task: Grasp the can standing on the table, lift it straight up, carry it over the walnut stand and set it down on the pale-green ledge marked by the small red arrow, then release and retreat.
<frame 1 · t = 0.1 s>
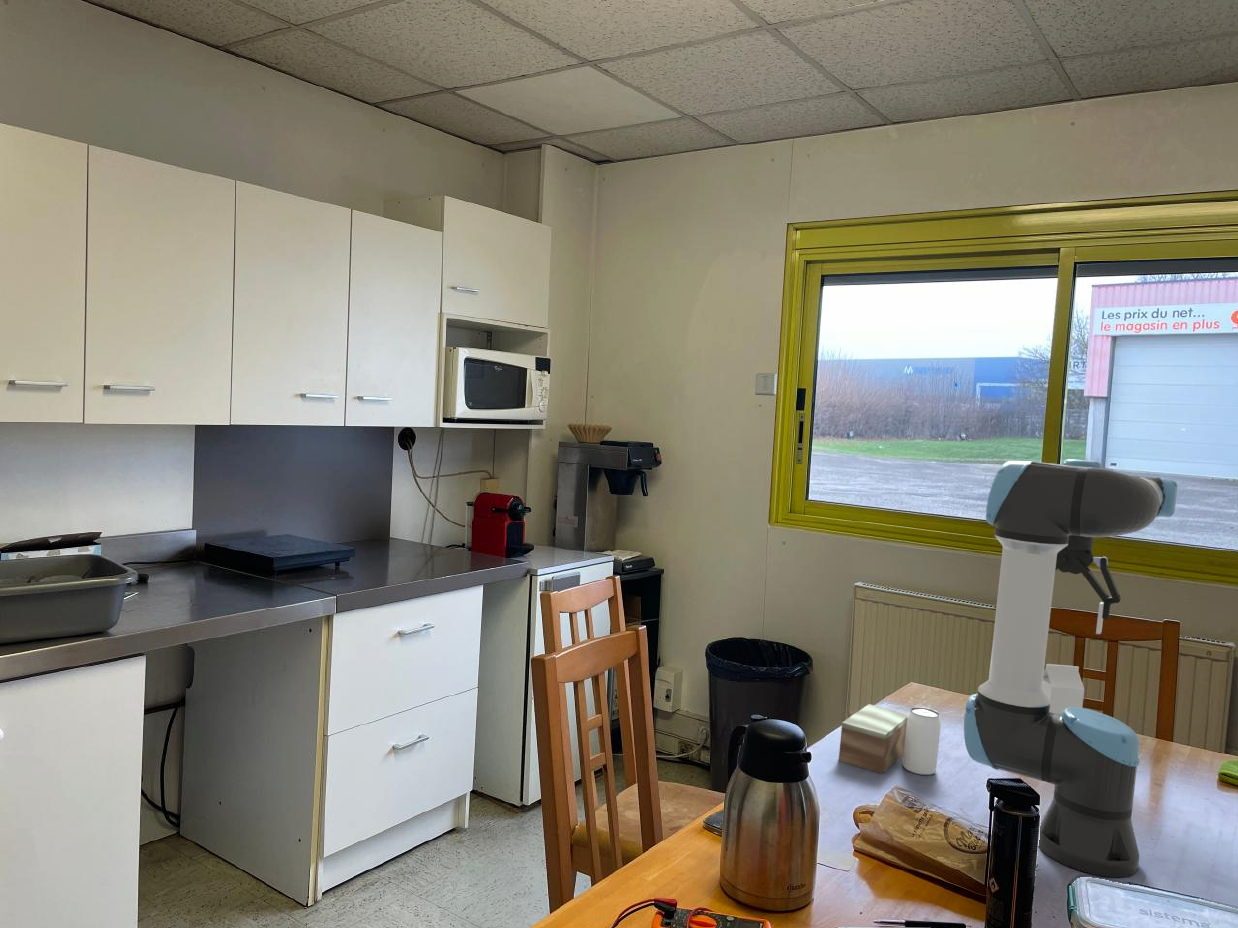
hand: (1063, 626, 197), 28 cm above the table, fingers open, 13 cm apart
can: (918, 770, 182), on the table
stand: (873, 755, 188), on the table
milk carton: (1053, 749, 200), on the table
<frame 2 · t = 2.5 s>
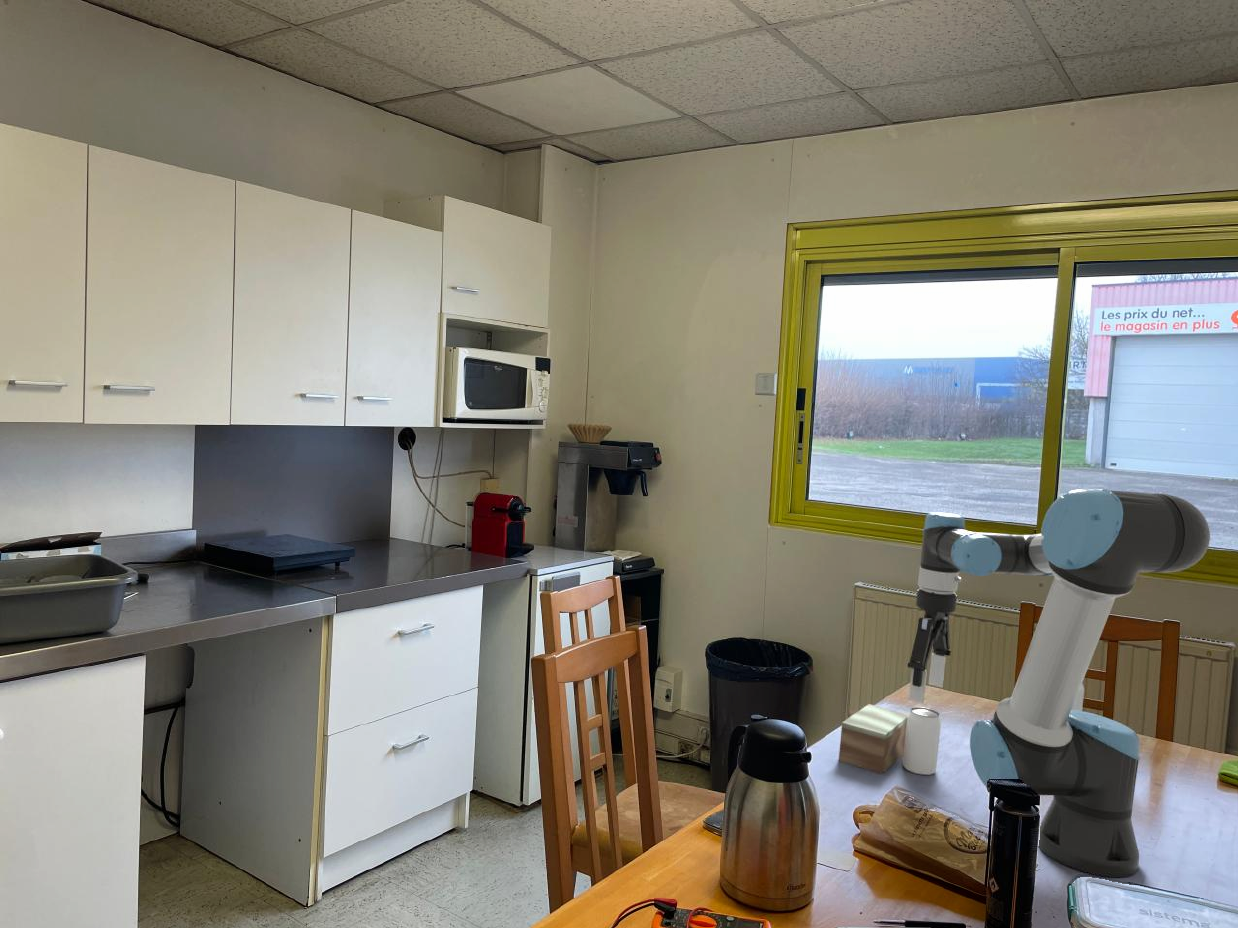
hand: (926, 693, 182), 16 cm above the table, fingers open, 13 cm apart
nothing on the table moved.
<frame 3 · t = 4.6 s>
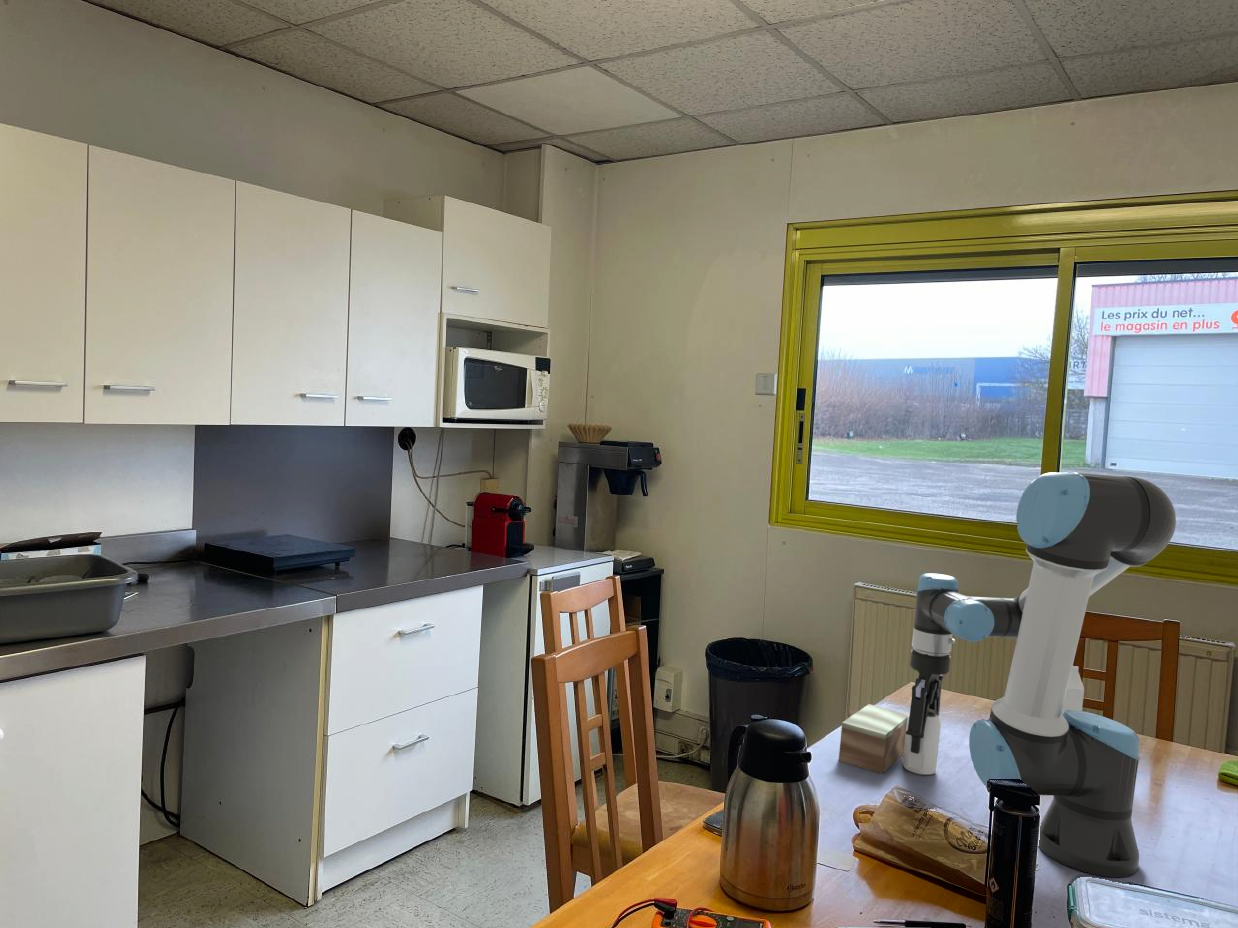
hand: (919, 762, 182), 1 cm above the table, fingers closed on can, 6 cm apart
can: (918, 770, 182), on the table, touching gripper
everything else where it was.
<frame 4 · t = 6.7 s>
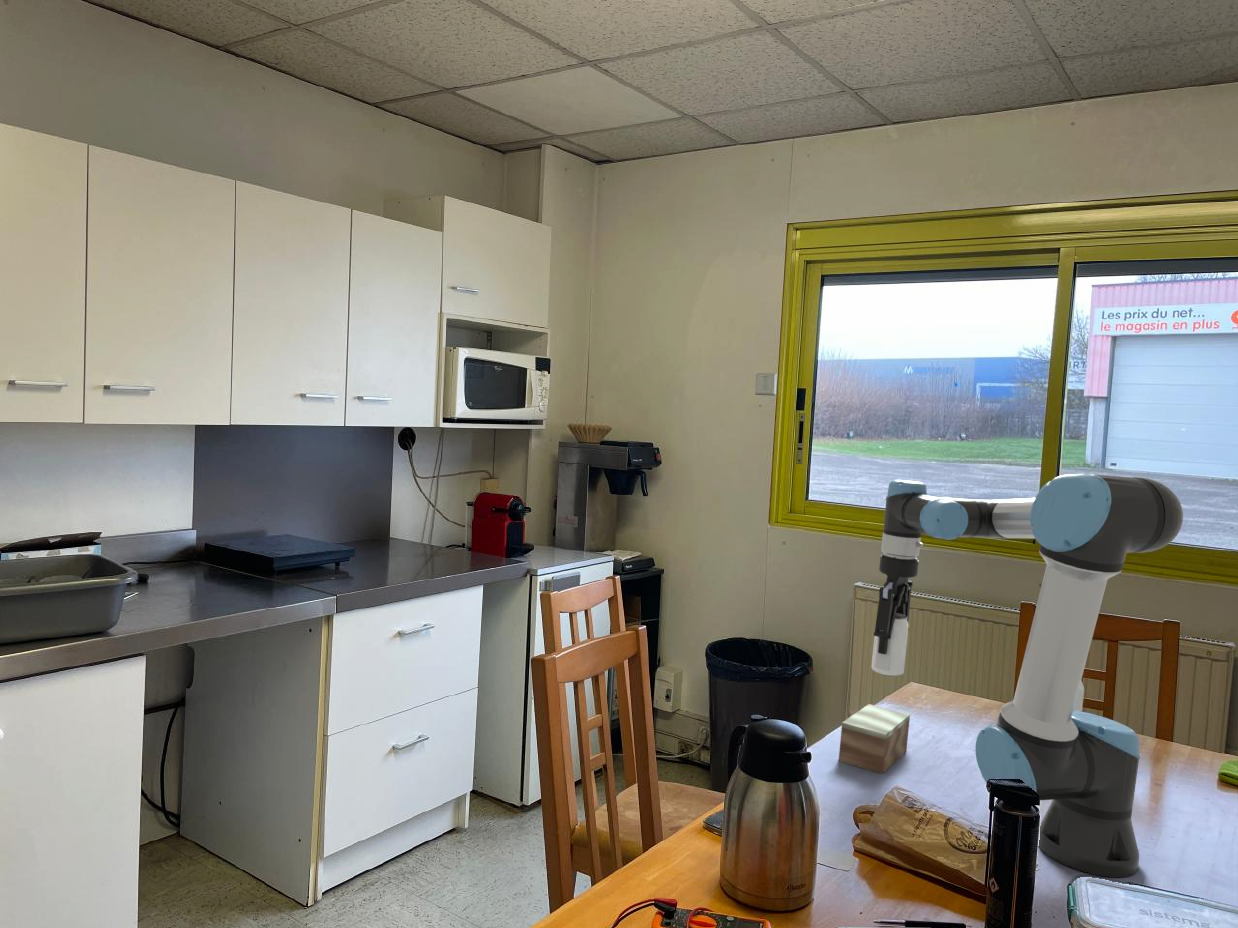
hand: (887, 664, 186), 20 cm above the table, fingers closed on can, 6 cm apart
can: (887, 672, 186), point 18 cm above the table, touching gripper
everything else where it was.
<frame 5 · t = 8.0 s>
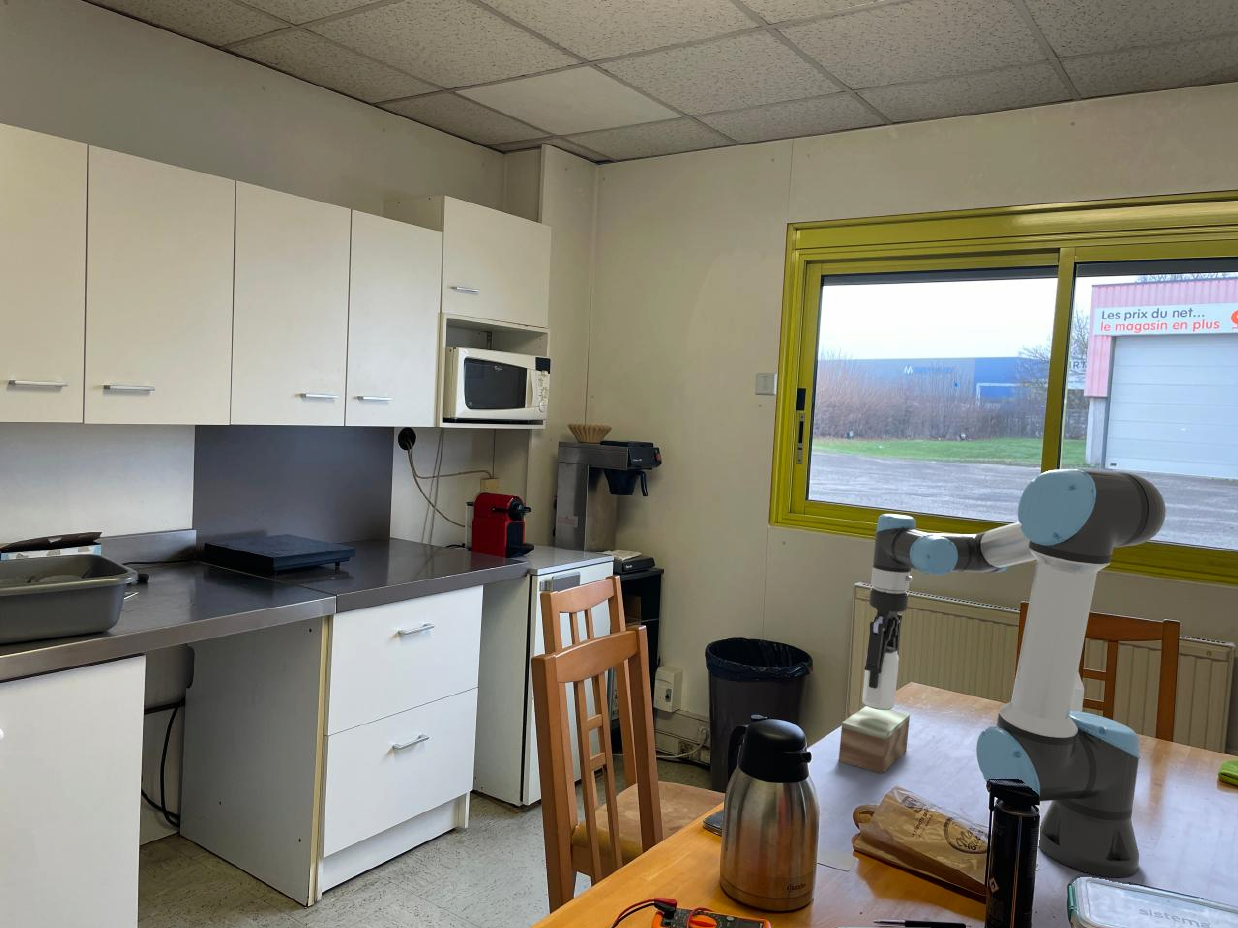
hand: (878, 698, 187), 12 cm above the table, fingers closed on can, 6 cm apart
can: (877, 705, 187), point 11 cm above the table, touching gripper
everything else where it was.
when the fingers open (11 cm above the table, at t = 9.0 s): can drops 1 cm, resting on stand.
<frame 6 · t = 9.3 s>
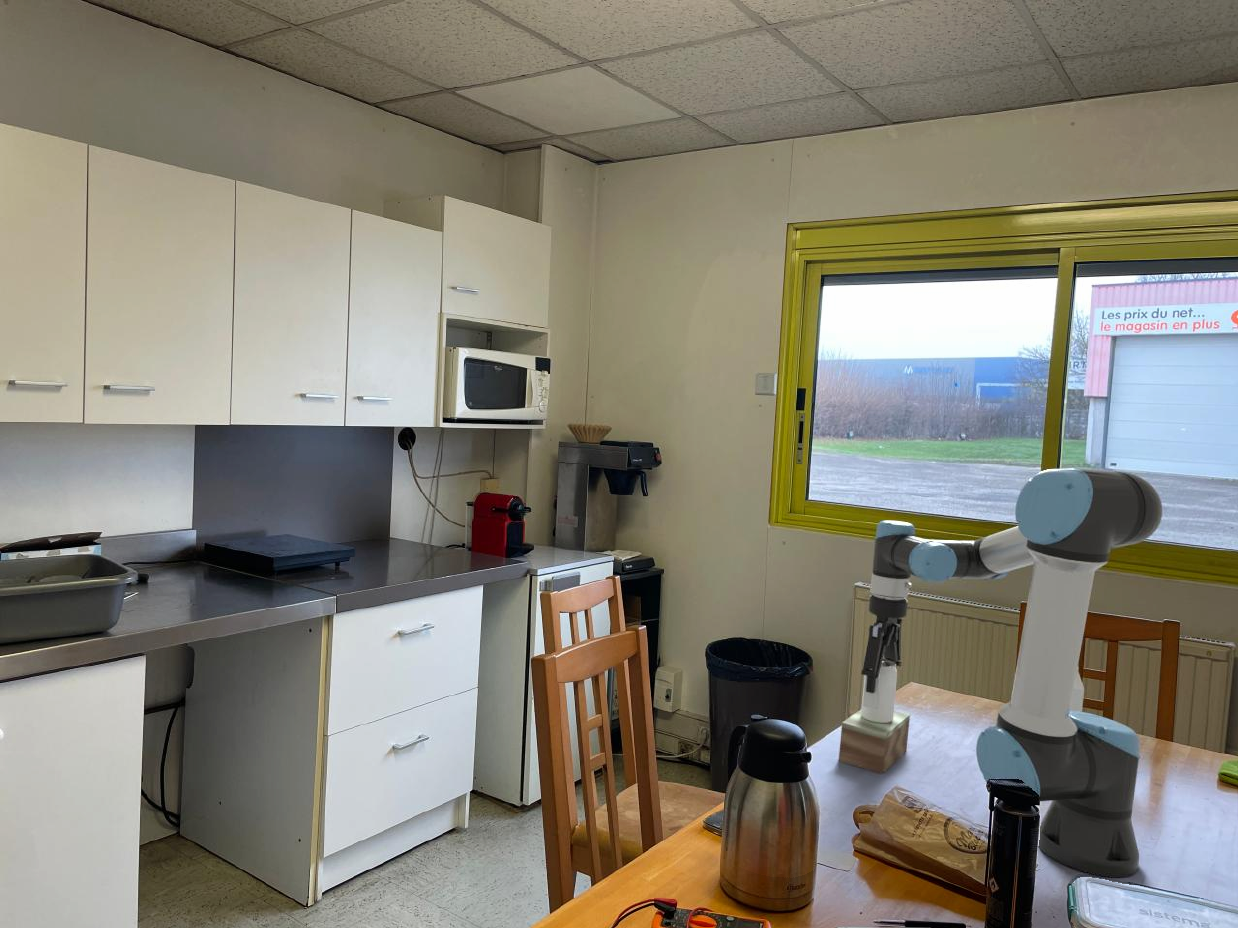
hand: (878, 701, 187), 12 cm above the table, fingers open, 10 cm apart
can: (876, 719, 187), point 8 cm above the table, touching stand
everything else where it was.
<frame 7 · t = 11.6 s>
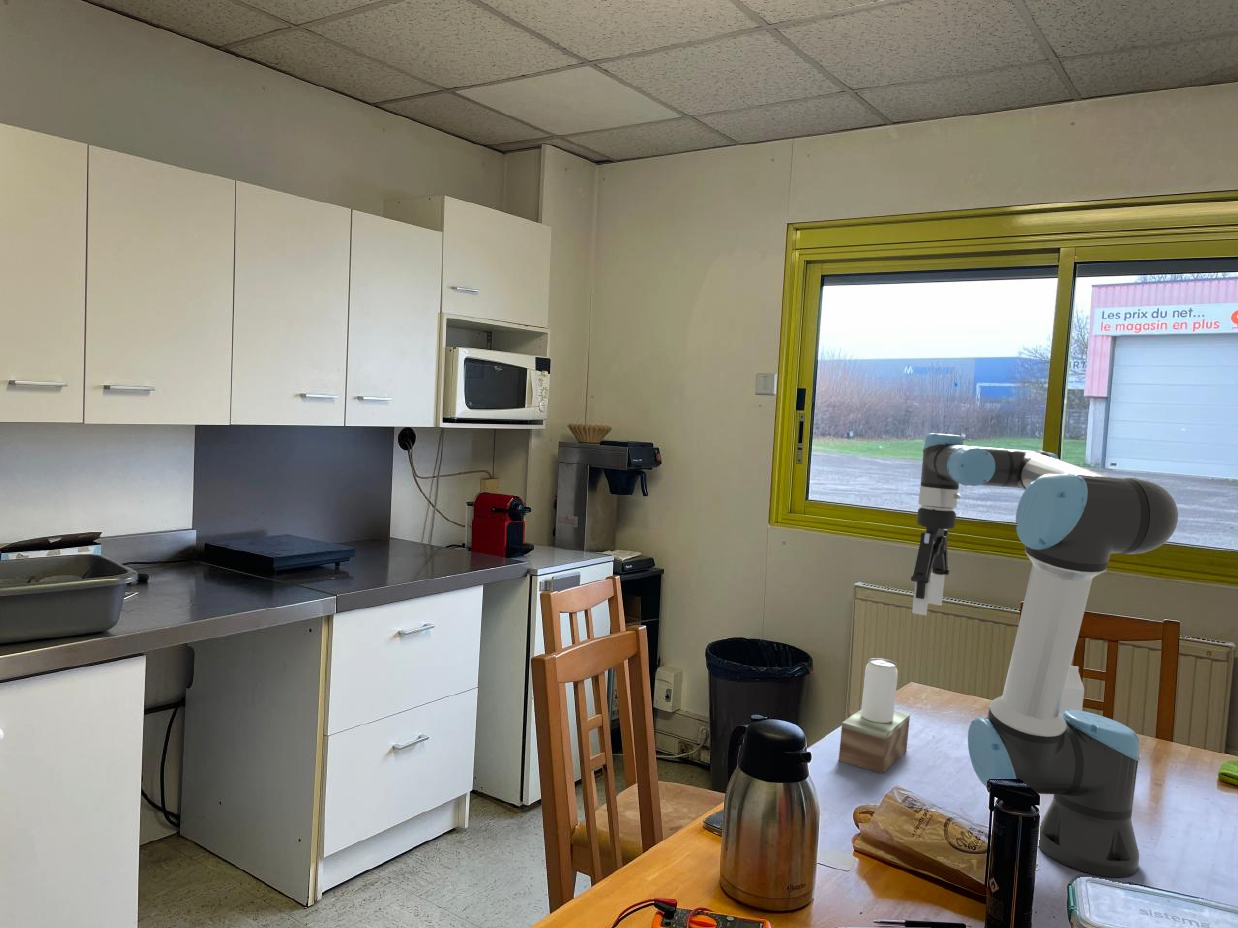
hand: (927, 609, 188), 31 cm above the table, fingers open, 13 cm apart
nothing on the table moved.
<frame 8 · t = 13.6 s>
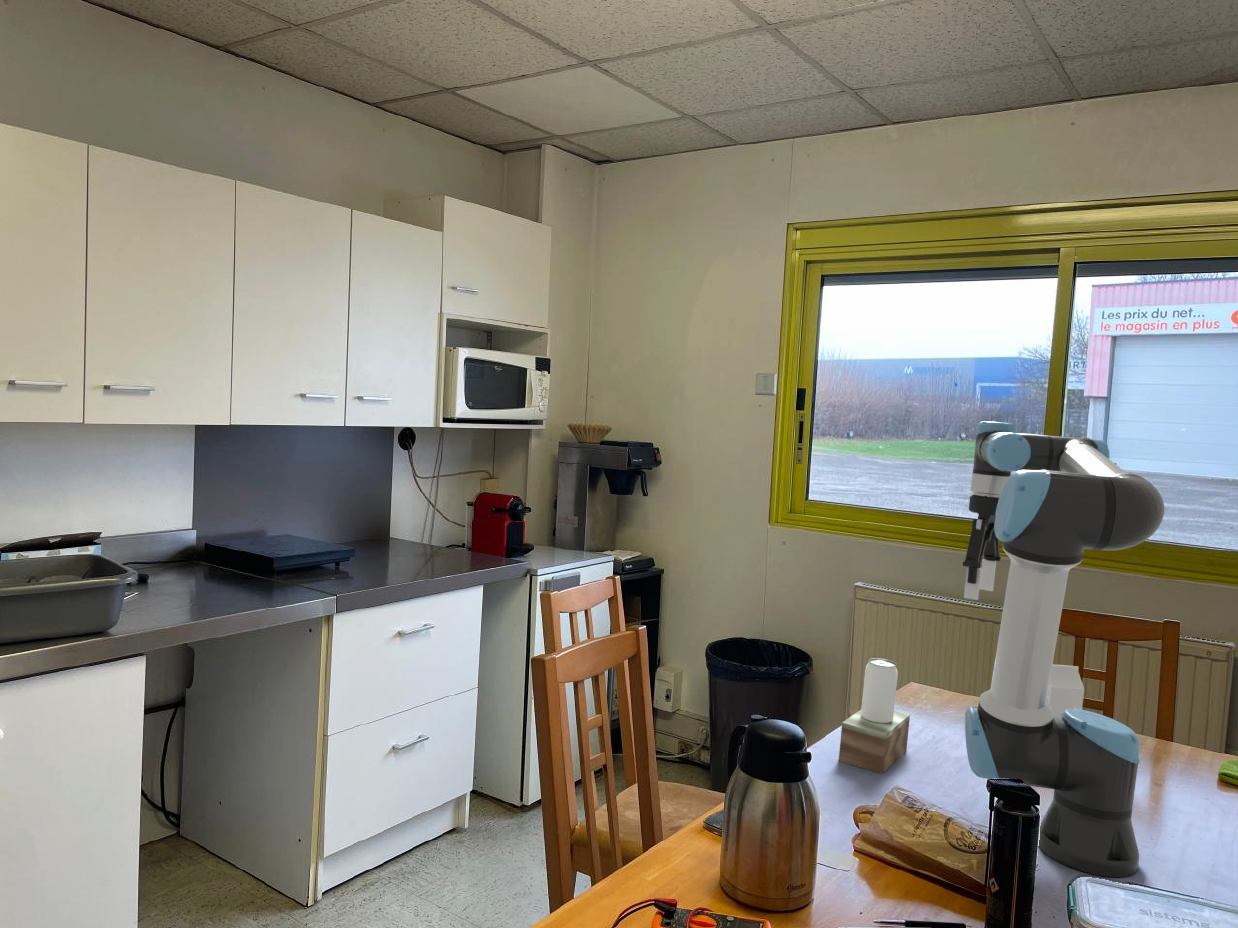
hand: (978, 594, 191), 35 cm above the table, fingers open, 13 cm apart
nothing on the table moved.
at the end: can 0.1 cm from the stand (horizontally); can point 7.8 cm above the table; can tilted 0° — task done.
